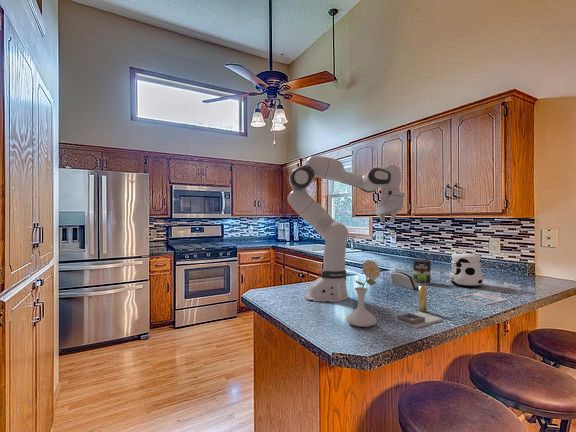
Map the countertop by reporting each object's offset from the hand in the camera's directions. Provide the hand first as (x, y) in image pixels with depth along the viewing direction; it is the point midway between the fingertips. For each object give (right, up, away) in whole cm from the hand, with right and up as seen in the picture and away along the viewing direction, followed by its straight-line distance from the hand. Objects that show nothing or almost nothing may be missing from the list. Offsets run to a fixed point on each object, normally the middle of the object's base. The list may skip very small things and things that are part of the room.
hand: (387, 222), depth 156 cm
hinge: (+18, -39, +27) cm, 51 cm away
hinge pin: (+9, -39, -21) cm, 45 cm away
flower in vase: (-21, -39, -36) cm, 57 cm away
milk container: (+56, -38, +28) cm, 73 cm away
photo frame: (+46, -39, -2) cm, 60 cm away
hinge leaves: (+2, -39, -33) cm, 51 cm away
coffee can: (+33, -39, +35) cm, 62 cm away
